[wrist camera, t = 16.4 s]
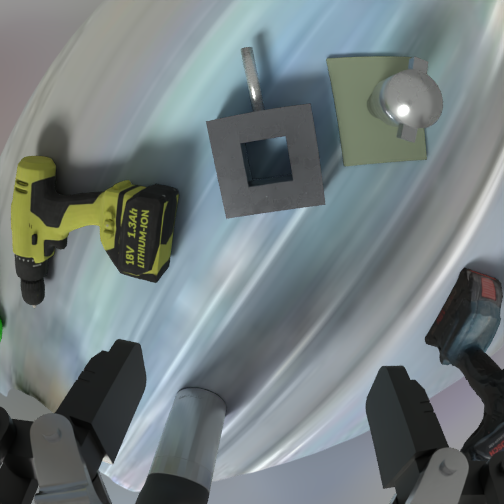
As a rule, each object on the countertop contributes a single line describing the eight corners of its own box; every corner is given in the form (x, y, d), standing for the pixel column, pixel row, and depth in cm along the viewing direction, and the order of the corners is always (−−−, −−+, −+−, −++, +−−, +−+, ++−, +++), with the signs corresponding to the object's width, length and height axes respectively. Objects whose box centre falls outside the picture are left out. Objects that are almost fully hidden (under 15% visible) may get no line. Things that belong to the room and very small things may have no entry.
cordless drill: (156, 346, 45) (32, 290, 44) (189, 188, 35) (36, 146, 34) (140, 376, 38) (8, 309, 37) (169, 201, 29) (2, 153, 28)
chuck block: (320, 195, 34) (325, 204, 30) (232, 208, 35) (226, 218, 31) (294, 45, 27) (296, 36, 24) (203, 62, 29) (193, 55, 25)
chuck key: (404, 83, 27) (447, 69, 17) (393, 140, 29) (434, 149, 19) (364, 71, 27) (394, 48, 17) (354, 129, 30) (380, 131, 20)
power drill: (514, 246, 33) (621, 345, 10) (446, 366, 42) (496, 486, 20) (478, 229, 33) (604, 340, 10) (408, 361, 42) (454, 499, 19)
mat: (424, 158, 30) (426, 159, 30) (343, 165, 32) (344, 166, 31) (410, 57, 26) (412, 57, 25) (326, 59, 27) (326, 58, 27)
